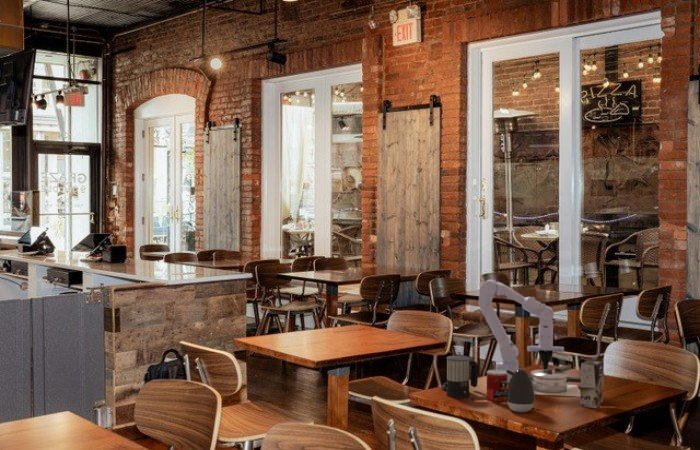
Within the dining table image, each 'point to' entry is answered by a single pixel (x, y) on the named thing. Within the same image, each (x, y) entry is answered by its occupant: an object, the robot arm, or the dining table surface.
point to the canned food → (496, 385)
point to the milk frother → (460, 376)
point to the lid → (552, 373)
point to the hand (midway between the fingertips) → (545, 369)
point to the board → (571, 391)
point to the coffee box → (591, 383)
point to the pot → (552, 384)
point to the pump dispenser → (520, 391)
